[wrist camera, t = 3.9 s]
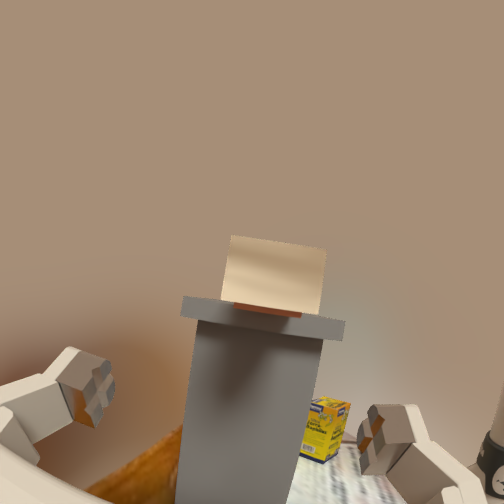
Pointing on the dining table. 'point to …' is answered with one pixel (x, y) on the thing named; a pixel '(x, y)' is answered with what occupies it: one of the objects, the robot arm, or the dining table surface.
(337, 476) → the dining table surface
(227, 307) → the charcoal stand
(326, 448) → the supplement box
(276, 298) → the birch bar
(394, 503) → the dining table surface
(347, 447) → the dining table surface
